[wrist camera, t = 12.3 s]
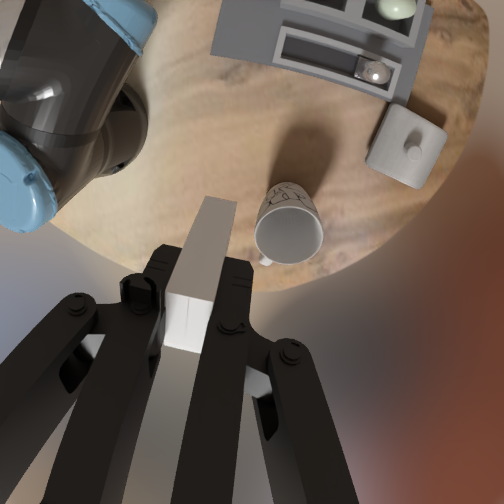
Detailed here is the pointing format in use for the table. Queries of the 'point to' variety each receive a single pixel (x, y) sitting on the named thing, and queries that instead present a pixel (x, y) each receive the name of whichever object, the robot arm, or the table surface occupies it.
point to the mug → (287, 226)
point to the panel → (325, 40)
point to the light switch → (406, 146)
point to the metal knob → (371, 71)
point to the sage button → (395, 9)
